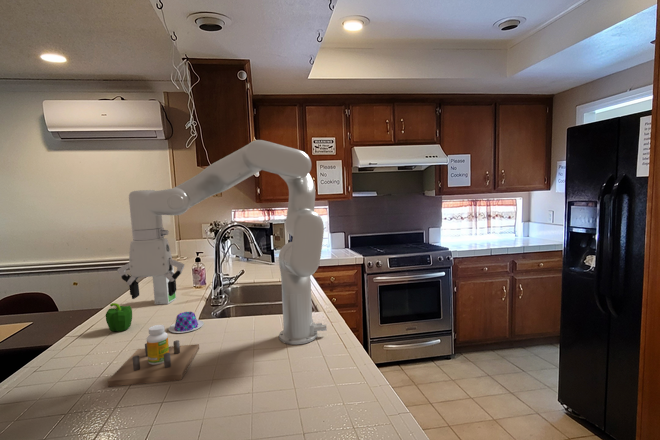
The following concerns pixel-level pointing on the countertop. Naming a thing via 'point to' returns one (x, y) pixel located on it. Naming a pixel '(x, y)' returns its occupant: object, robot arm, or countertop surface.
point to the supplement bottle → (157, 344)
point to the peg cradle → (155, 366)
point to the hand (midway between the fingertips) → (154, 296)
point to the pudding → (186, 323)
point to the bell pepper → (119, 317)
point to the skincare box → (162, 290)
